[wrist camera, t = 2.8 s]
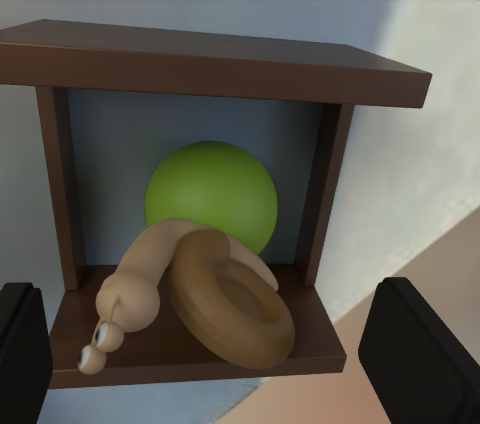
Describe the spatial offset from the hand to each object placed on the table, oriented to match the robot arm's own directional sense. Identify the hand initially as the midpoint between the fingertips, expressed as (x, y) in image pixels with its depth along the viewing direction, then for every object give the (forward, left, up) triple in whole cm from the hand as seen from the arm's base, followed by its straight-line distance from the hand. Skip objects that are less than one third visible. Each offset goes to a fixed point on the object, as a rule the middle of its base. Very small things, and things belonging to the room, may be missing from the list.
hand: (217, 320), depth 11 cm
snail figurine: (-1, 0, -9) cm, 9 cm away
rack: (-1, 0, -9) cm, 9 cm away
